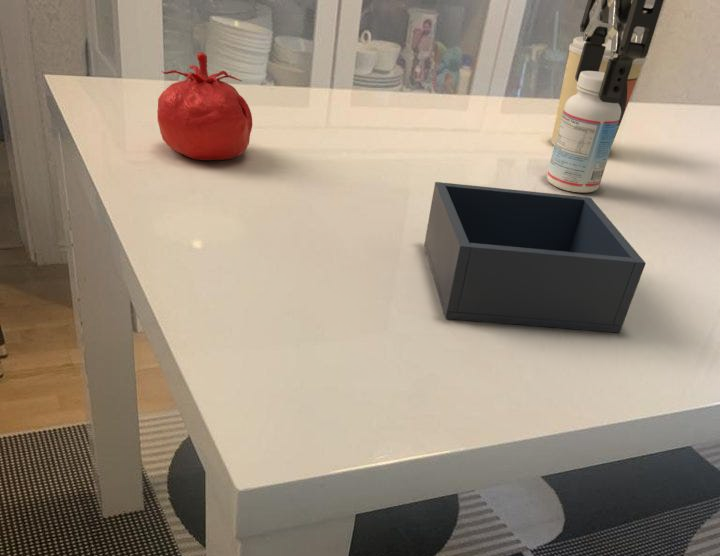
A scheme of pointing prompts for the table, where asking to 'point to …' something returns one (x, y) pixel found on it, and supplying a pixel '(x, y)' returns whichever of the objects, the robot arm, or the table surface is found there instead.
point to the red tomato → (204, 115)
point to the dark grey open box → (529, 259)
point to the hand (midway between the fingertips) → (595, 92)
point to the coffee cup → (572, 64)
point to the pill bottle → (584, 137)
